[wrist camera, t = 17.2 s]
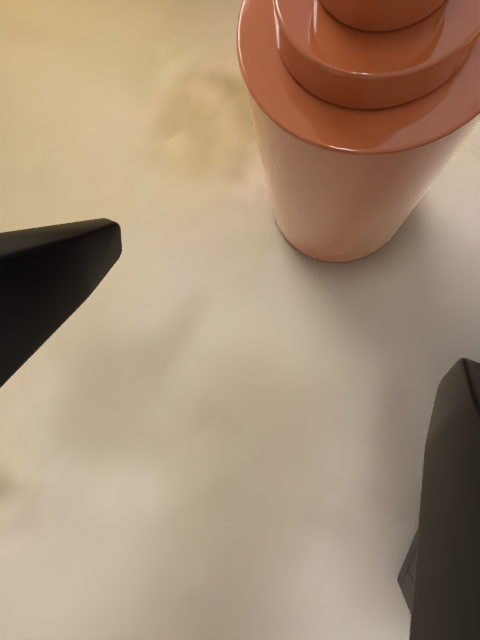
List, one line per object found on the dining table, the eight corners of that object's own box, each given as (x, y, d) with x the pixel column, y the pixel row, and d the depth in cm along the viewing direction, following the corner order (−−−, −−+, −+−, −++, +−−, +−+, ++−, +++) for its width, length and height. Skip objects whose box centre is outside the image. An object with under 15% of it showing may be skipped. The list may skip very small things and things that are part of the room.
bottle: (416, 253, 16) (740, -38, 4) (278, 270, 17) (214, 74, 5) (398, 124, 17) (638, -464, 5) (266, 147, 18) (183, -290, 6)
